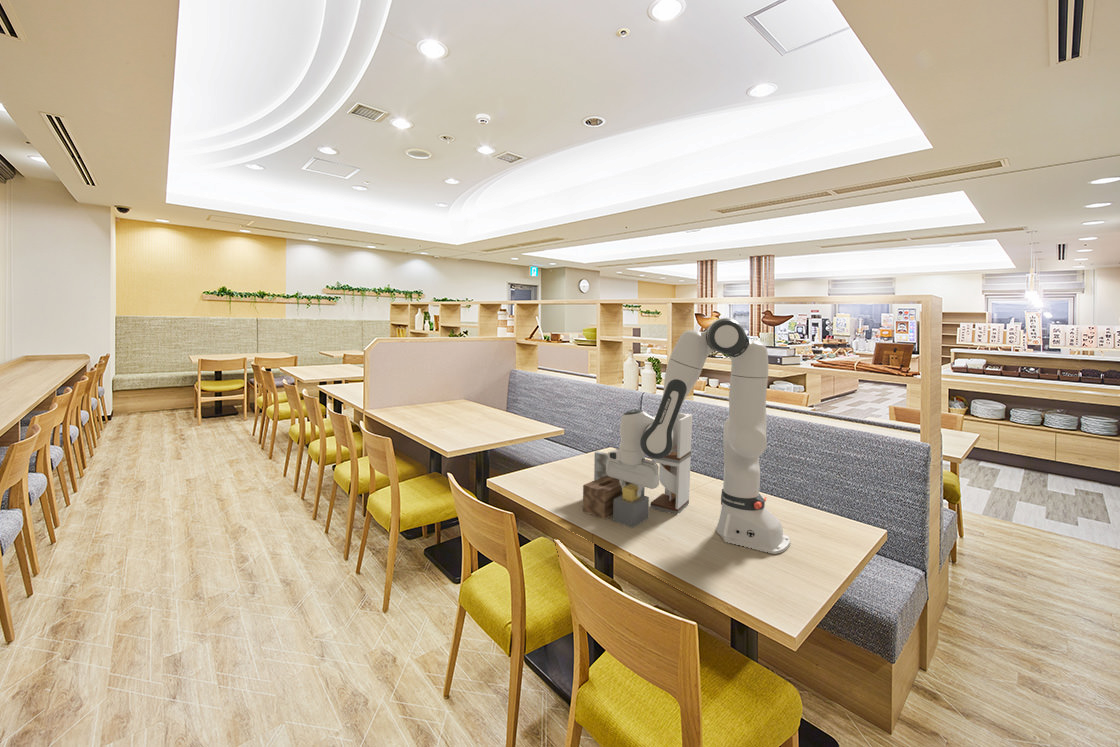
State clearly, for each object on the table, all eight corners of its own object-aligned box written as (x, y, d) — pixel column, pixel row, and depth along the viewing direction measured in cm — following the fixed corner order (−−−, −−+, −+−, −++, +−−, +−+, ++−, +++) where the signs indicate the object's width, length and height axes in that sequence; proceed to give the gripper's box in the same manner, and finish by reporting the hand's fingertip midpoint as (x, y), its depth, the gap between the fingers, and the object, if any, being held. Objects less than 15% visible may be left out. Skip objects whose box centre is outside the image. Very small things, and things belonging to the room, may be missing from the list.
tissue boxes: (643, 510, 175) (645, 463, 173) (618, 524, 163) (619, 474, 161) (597, 494, 190) (597, 451, 188) (570, 506, 178) (571, 460, 176)
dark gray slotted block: (648, 518, 168) (648, 496, 167) (632, 527, 161) (632, 505, 160) (629, 512, 173) (629, 491, 172) (613, 520, 166) (613, 498, 165)
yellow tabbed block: (639, 508, 167) (640, 486, 166) (631, 512, 163) (632, 490, 162) (630, 505, 170) (630, 483, 169) (622, 509, 166) (622, 487, 165)
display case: (662, 498, 187) (665, 411, 182) (688, 504, 181) (692, 414, 176) (650, 507, 177) (653, 416, 173) (677, 514, 171) (681, 420, 167)
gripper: (663, 460, 159) (662, 499, 161) (614, 448, 173) (613, 484, 175) (653, 464, 155) (652, 504, 157) (603, 452, 169) (603, 489, 170)
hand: (631, 494), depth 166 cm, fingers closed on yellow tabbed block, 4 cm apart
